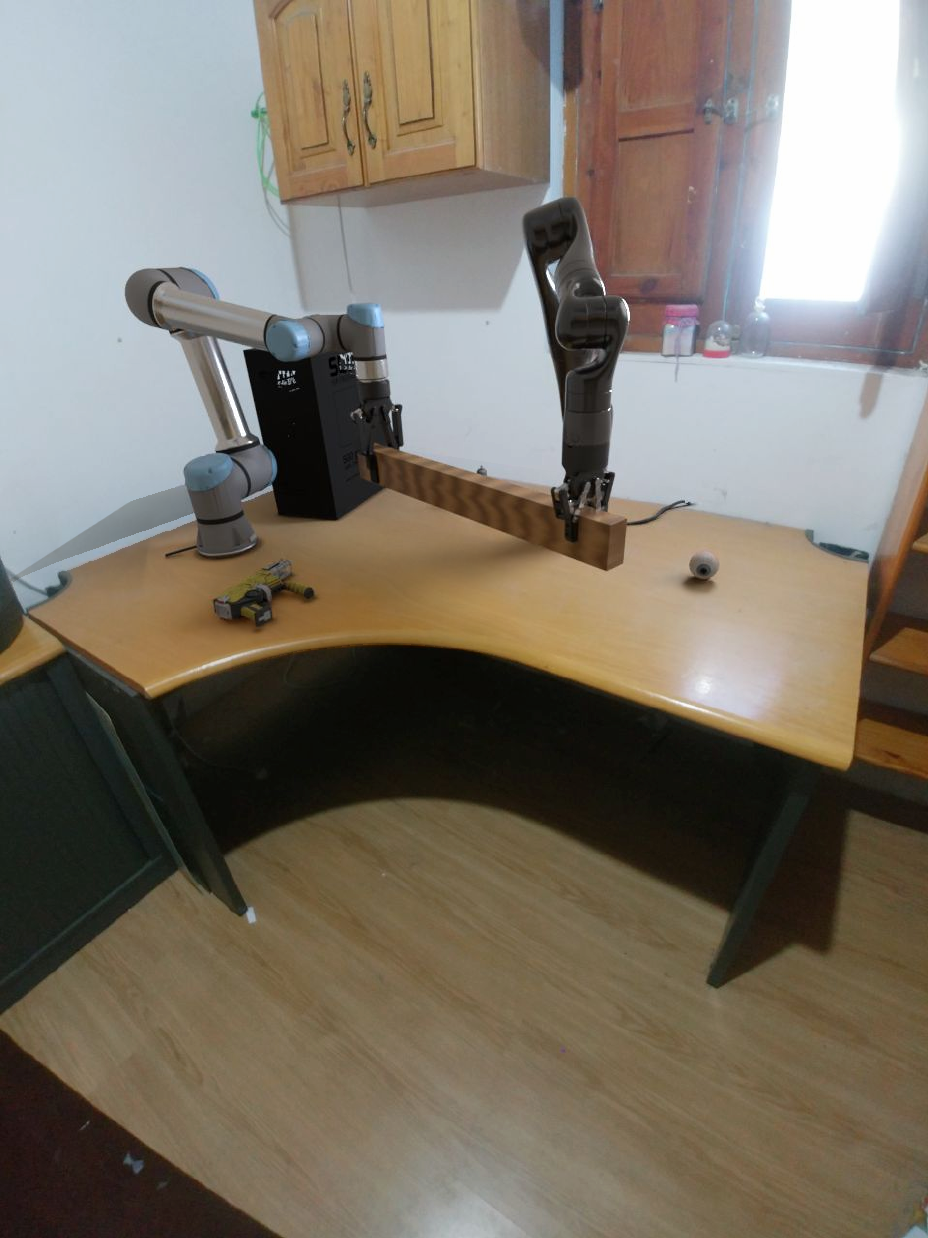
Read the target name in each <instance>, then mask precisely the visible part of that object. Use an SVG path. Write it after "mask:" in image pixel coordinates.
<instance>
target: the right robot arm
mask: <svg viewBox="0 0 928 1238" xmlns="http://www.w3.org/2000/svg"><path fill="white" fill-rule="evenodd" d="M521 235H522V240H523V245H524V249H525V252H526V255H527V260H528V263H529V266H530V267H529V268H530V270H531V274H532V278H533V281H534V284H535V288H536V292H537V296H538V299H539V304H540V309H541V313H542V318H543V325H544V330H545V335H546V340H547V346H548V349H549V354H550V358H551V361H552V365H553V370H554V374H555V380H556V384H557V389H558V396H559V397H558V398H559V405H560V406H559V407H560V414H561V421H562V432H561V433H562V437H561V438H562V439H561V466H562V468H563V470H564V472H565V473H564V474H565V475H564V478H563V482H562V484H561V485H559V486H558V487H556V486H552V487H551V489H550V495H551V496H552V502H553V507H554V512H555V517H556V518H557V519H560V520H563V521H565V531H564V532H565V533H564V536H565V539H566V540H567V541H570V542H573V543H574V542H576V541H577V540H578V522H577V521H578V518H579V514H580V510H581V509H583V507H584V505H585V506H588V507H592V508H595V509H599V510H602V511H605V512H609V501H610V499H611V494H612V490H613V485H614V481H615V477H616V472H614V471H610V470H608V465H609V459H610V451H611V450H610V449H611V439H612V432H613V424H614V407H613V404H612V392H613V381H614V375H615V371H616V367H617V363H618V361H619V357H620V355H621V351H622V348H623V346H624V343H625V340H626V336H627V334H628V331H629V326H630V320H631V319H630V317H631V316H630V309H629V306H628V304H627V302H626V300H625V299H624V298H623V297H622V296H620V295H615V294H609V295H606V289H605V285H604V281H603V280H602V277H601V275H600V272H599V270H598V268H597V265H596V262H595V255H594V248H593V242H592V238H591V233H590V227H589V222H588V218H587V215H586V212H585V208H584V205H583V204H582V202H581V201H580V199H579V198H578V197H576V196H574V195H566V196H562V197H559V198H557V199H554V200H552V201H549V202H547V203H544V204H542V205H540V206H539V205H538V206H536V207H534V208H531V209H529V210H528V211H526V212H525V213H524V214H523V216H522V218H521ZM555 264H556V267H555V270H554V274H553V273H552V272H551V270H550V268H549V267H550V266H552V265H555ZM596 350H599V351H598V353H597V355H596V356H595V352H596ZM594 356H595V358H594ZM593 358H594V359H593ZM685 500H686V499H680V500H677V501H675V502H673V503H670V504H668V505H666V506H664V507H662V508H660V510H658V512H657V513H656V514H654V515H653V516H650V517H648V518H644V519H640V520H636V521H630V522H627V526H634V525H641V524H644V523H647V522H648V523H649V522H651V521H654V520H655V519H657V518H659V516H660V515H661V514H662V513H663V512H664V511H667V510H669V509H671V508H674V507H675V506H678V505H680V504H687V505H688V506H692V502H691V501H689V502H688V503H685ZM571 507H573V508H574V510H573V514H571V513H570V511H571ZM562 511H563V512H562Z"/></svg>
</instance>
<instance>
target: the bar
mask: <svg viewBox="0 0 928 1238" xmlns="http://www.w3.org/2000/svg"><path fill="white" fill-rule="evenodd" d="M357 455H358V462H359V469H360V476H361V478H362V479H365V480H368V481H370V482H372V481H371V476H370V470H368V469H367V467H366V459H365V456H363V455H360V454H358V453H357ZM373 455H374V456H376V457H377V465H378V473H379V482H380V483H378V485H381V486H383V487H385V488H386V489H389V490H391V491H394V492H397V493H400V494H402V495H404V496H408V497H410V498H413V499H415V500H418V501H420V502H423V503H425V504H428V505H431V506H433V507H436V508H439V509H442V510H444V511H447V512H449V513H452V514H454V515H457V516H459V517H462V518H464V519H468V520H470V521H473V522H476V523H478V524H480V525H483V526H486V527H489V528H491V529H494V530H496V531H500V532H502V533H504V534H507V535H509V536H512V537H515V538H518V539H521V540H523V541H525V542H528V543H531V544H534V545H536V546H538V547H541V548H543V549H547V550H549V551H551V552H555V553H556V554H560V555H562V556H565V557H568V558H570V559H573V560H576V561H578V562H581V563H583V564H586V565H589V566H591V567H593V568H596V569H599V570H602V571H603V572H609V571H610V570H613V569H614V568H617V567H619V566H621V565H623V564H624V560H625V558H624V557H625V548H626V537H627V526H628V525H627V523H628V517H625V516H622V515H619V514H616V513H611V512H609V511H608V512H605V511H602V510H599V509H595V508H592V507H588V506H585V505H584V507H583V509H581V510H580V514H579V518H578V521H577V522H578V540H577V541H576V542H574V543H573V542H570V541H567V540H566V539H565V536H564V533H565V532H564V531H565V521H563V520H560V519H557V518H556V517H555V512H554V507H553V502H552V496H551V494H548V493H544V492H541V491H538V490H535V489H531V488H528V487H524V486H521V485H518V484H514V483H510V482H508V481H505V480H500V479H497V478H494V477H491V476H488V475H487V476H484V475H481V474H477V472H474V471H470V470H467V469H463V468H460V467H457V466H454V465H450V464H447V463H444V462H440V461H436V460H433V459H429V458H426V457H423V456H420V455H417V454H413V453H410V452H407V451H404V450H401V449H400V450H396V449H393V448H390V447H386V446H383V445H380V444H376V443H374V451H373ZM373 483H374V482H373ZM375 484H377V483H375ZM573 510H574V508H573V507H571V511H570V513H571V514H573ZM562 512H563V511H562Z"/></svg>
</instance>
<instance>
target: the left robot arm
mask: <svg viewBox="0 0 928 1238" xmlns="http://www.w3.org/2000/svg"><path fill="white" fill-rule="evenodd" d="M124 298H125V299H124V300H125V302H126V305H127V307H128V310H130V312H131V313H132V314H133V316H134V317H135V318H136V319H137V320H138V321H140V322H141V323H143V324H145V325H147V326H149V327H153V328H157V329H161V330H165V331H168V332H169V335H170V338H173V339H174V340H176V341H178V342H179V343H180V346H181V349H182V351H183V353H184V356H185V359H186V362H187V364H188V367H189V370H190V372H191V375H192V378H193V380H194V382H195V383H194V384H195V385H196V387H197V390H198V393H199V395H200V398H201V401H202V404H203V405H204V406H203V407H204V409H205V412H206V413H207V417H208V419H209V421H210V424H211V427H212V430H213V433H214V435H215V437H216V441H217V442H216V445H215V447H214V452H213V453H207V454H205V455H199V456H197V457H195V458H193V459H191V460H189V461H188V462H187V463H186V464H185V465H184V467H183V471H182V472H183V477H184V485H185V487H186V490H187V493H188V496H189V499H190V502H191V506H192V509H193V513H194V517H195V520H196V523H197V531H196V545H192V546H188V547H185V548H182V549H177V550H175V551H171V552H168V553H165V554H164V556H165V558H167V557H170V556H174V555H178V554H180V553H185V552H187V551H192V550H195V549H196V550H197V554H198V555H199V556H200V557H201V558H204V559H208V560H224V559H225V560H226V559H230V558H235V557H240V556H243V555H245V554H247V553H249V552H251V551H253V550H254V549H256V548H257V547H258V546H259V538H258V535H257V533H256V531H255V530H254V528H253V526H252V525H251V522H250V521H249V520H248V519H247V517H246V515H245V510H244V507H243V504H242V501H243V500H245V499H247V498H249V497H250V496H253V495H254V494H256V493H259V492H262V491H263V490H265V489H267V487H268V486H271V485H272V482H273V481H274V479H275V477H276V474H277V463H276V460H275V457H274V455H273V453H272V452H271V451H270V450H268V449H267V447H266V446H264V445H263V443H261V440H260V437H259V436H257V435H255V434H254V433H252V432H251V430H250V427H249V424H248V421H247V419H246V416H245V413H244V411H243V407H242V404H241V402H240V398H239V396H238V393H237V390H236V388H235V384H234V382H233V379H232V376H231V374H230V371H229V368H228V366H227V365H228V364H227V362H226V360H225V356H224V354H223V350H222V348H221V346H220V343H219V340H221V341H226V342H229V343H234V344H237V345H241V346H245V347H248V348H249V347H250V348H256V349H260V350H263V351H267V352H271V354H272V355H274V356H275V357H276V358H277V359H278V360H281V361H284V362H289V361H299V360H301V359H304V358H307V357H311V356H315V355H319V354H323V353H327V352H338V351H352V352H351V355H352V354H353V360H354V362H353V364H354V369H355V375H356V379H358V380H359V381H357V383H356V384H357V392H358V398H359V401H360V403H359V407H358V408H359V409H357V410H356V411H354V412H350V413H349V416H350V418H351V421H352V423H353V430H354V436H355V443H356V450H357V453H358V454H360V455H363V456H365V459H366V467H367V469H368V470H370V476H371V481H372V482H374V483H377V484H378V483H380V482H379V473H378V465H377V457H376V456H374V455H373V451H374V437H375V427H376V425H377V422H380V423H381V426H382V429H383V432H384V435H385V438H386V442H387V445H388V447H390V448H393V449H396V450H400V451H401V449H400V448H402V447H403V446H405V445H404V444H405V443H404V433H403V432H404V431H403V422H402V421H403V420H402V411H403V404H401V403H396V402H393V401H392V399H391V395H392V392H391V383H390V380H389V379H388V377H389V376H390V372H389V365H388V357H387V350H386V336H385V323H384V318H383V312H382V308H381V305H380V304H379V303H378V302H357V303H349V304H348V305H347V306H346V313H342V314H318V313H316V314H310V315H305V316H303V317H301V318H291V317H288V316H284V315H278V314H276V313H272V312H268V311H264V310H261V309H256V308H252V307H247V306H246V305H245V306H244V305H240V304H235V303H233V302H229V301H225V300H221V298H220V295H219V292H218V289H217V288H216V286H215V284H214V282H213V281H212V280H211V279H210V278H209V276H207V275H206V274H205V273H203V272H202V271H200V270H198V269H196V268H189V267H184V266H179V267H158V268H156V267H155V268H154V267H153V268H152V267H149V268H148V267H147V268H142V269H139V270H137V271H134V272H133V273H132V274H131V275H130V276H129V277H128V279H127V281H126V283H125V286H124ZM390 412H391V417H390ZM361 415H363V416H364V417H365V421H364V424H365V439H364V431H363V425H362V421H361V419H362V416H361Z"/></svg>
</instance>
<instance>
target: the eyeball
mask: <svg viewBox="0 0 928 1238" xmlns="http://www.w3.org/2000/svg"><path fill="white" fill-rule="evenodd" d="M688 566H689V571H690V573H691V574H692V575H693V576H694V577H695V578H697V579H701V580H708V579H711V578H713V577H714V576H715V575H716V574H717V573H718V572H719V569H720V559H719V558H718V556H717V555H716V554H715V553H714V552H712V551H709V550H701V551H698V552H696V553H694V554H693V555H692V556H691V558H690V560H689V564H688Z"/></svg>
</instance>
